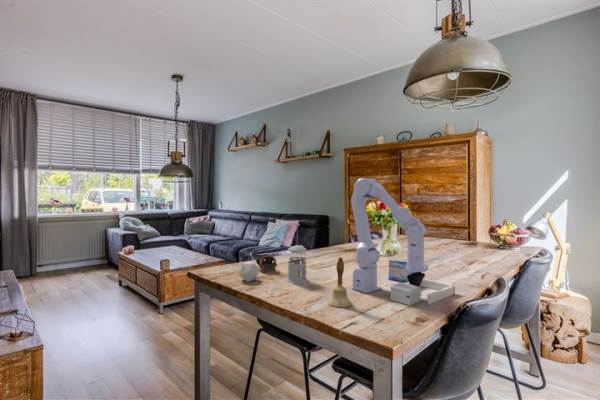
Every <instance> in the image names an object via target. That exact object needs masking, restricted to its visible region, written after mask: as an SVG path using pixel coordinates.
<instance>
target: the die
mask: <svg viewBox="0 0 600 400" xmlns="http://www.w3.org/2000/svg"><path fill="white" fill-rule="evenodd" d="M240 266H241V267H240V268H239V272H238V276H239V277H240V278H242V279H243V280H244V281H246V282H247V283H250V282H252V281H255V280H256V279H257V278H258V275H259V270H260V267H259V266H257V264H255V263H254V262H253V261H247V262H243V263H242V264H241V265H240Z"/></svg>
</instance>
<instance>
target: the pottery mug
mask: <svg viewBox="0 0 600 400" xmlns="http://www.w3.org/2000/svg"><path fill="white" fill-rule="evenodd" d="M255 262H256V265H258V268H259V269H260V272H261V273H262V274H263V273H264V272H266V271H271V270H275V269H276V267H278V264H277V262H278V261H277V259H276V257H275V256H272V255H264V256H262V257H261V256H258V257H257V258H256V259H255Z"/></svg>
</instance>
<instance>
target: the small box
mask: <svg viewBox="0 0 600 400" xmlns="http://www.w3.org/2000/svg"><path fill="white" fill-rule="evenodd" d="M406 283H407V282H398V283H396V284H393V285H391V286H390V301H395V302H398V303H400V304H401V303H402V304H404V305H407V306H412V305H414V304H416V303H419V302H421V298H422V297H421V296H422V295H421V294H422V290H421V289H422V287H419V286H414V285H411V284H406Z"/></svg>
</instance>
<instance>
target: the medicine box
mask: <svg viewBox="0 0 600 400" xmlns="http://www.w3.org/2000/svg"><path fill="white" fill-rule="evenodd" d="M406 267H407V259H405V260H404V259H395V258H389V260H388V277H387V279H388V280H389V281H396V282H403V283H407V282H408V278H407V277H406V276H402V270H403V269H405V268H406Z"/></svg>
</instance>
